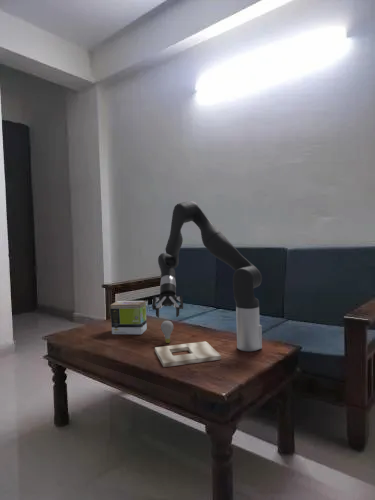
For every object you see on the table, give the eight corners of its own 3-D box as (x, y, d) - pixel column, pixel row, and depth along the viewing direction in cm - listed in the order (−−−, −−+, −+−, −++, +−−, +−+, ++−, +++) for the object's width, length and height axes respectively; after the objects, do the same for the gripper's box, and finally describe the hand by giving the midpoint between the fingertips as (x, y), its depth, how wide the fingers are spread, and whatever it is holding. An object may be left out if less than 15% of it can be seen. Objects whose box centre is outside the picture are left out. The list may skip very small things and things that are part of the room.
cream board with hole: (206, 344, 152) (205, 341, 152) (220, 359, 135) (220, 355, 135) (155, 351, 146) (154, 347, 146) (163, 367, 129) (163, 363, 129)
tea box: (147, 329, 179) (146, 300, 178) (141, 335, 169) (139, 304, 168) (118, 328, 182) (117, 300, 181) (111, 334, 172) (109, 304, 171)
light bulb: (164, 340, 159) (163, 318, 159) (175, 341, 158) (174, 319, 157) (159, 344, 154) (158, 322, 154) (171, 345, 153) (170, 322, 152)
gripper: (152, 282, 169) (151, 312, 158) (182, 281, 169) (183, 311, 158) (154, 292, 175) (152, 321, 164) (183, 291, 174) (183, 320, 164)
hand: (167, 316), depth 161 cm, fingers open, 8 cm apart
